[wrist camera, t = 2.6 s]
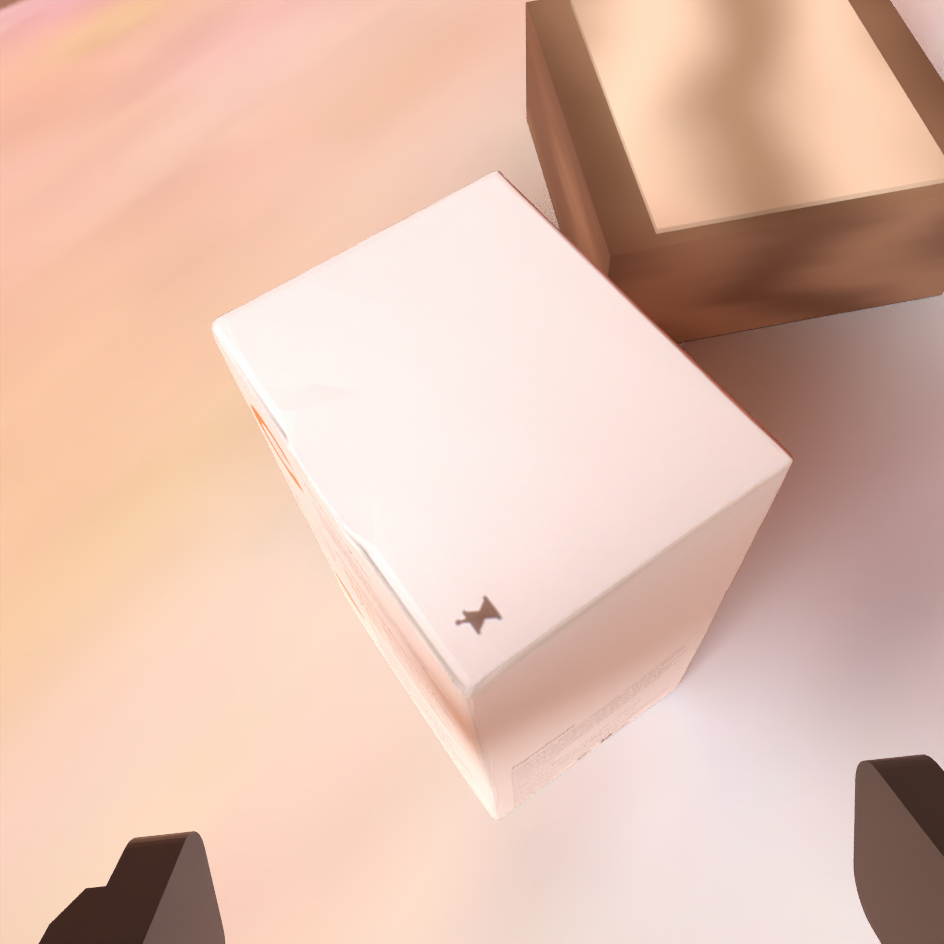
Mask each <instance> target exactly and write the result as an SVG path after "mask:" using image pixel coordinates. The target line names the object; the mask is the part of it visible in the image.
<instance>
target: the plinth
mask: <svg viewBox="0 0 944 944" xmlns="http://www.w3.org/2000/svg"><path fill="white" fill-rule="evenodd" d="M526 108H527V122H528V125H529V128H530V132H531V135H532V138H533V142H534V145H535V148H536V152H537V155H538V158H539V161H540V165H541V168H542V171H543V175H544V178H545V181H546V185H547V188H548V191H549V194H550V198H551V201H552V204H553V208H554V211H555V214H556V217H557V221H558V224H559V227H560V231H561V232H562V233H563V234H564V235H565V236H566V237H567V238H568V239H569V240H570V241H571V242H572V243H573V244H574V245H575V246H576V247H577V248H578V249H579V250H580V251H581V252H582V253H583V254H585V255H586V256H587V257H588V258H589V259H590V260H591V261H592V262H593V263H594V264H595V265H596V266H597V267H598V268H599V269H600V270H601V271H602V272H603V273H604V274H605V275H606V276H607V277H608V278H609V279H610V280H611V281H612V282H613V283H614V284H615V285H617V286H618V287H619V288H620V289H621V290H622V291H623V292H624V293H625V294H626V295H627V296H628V297H629V298H630V299H631V300H632V301H633V302H634V303H635V304H636V305H637V306H638V307H639V308H640V309H641V310H642V311H643V312H644V313H645V314H646V315H647V316H648V317H649V318H650V319H651V320H652V321H653V322H654V323H655V324H657V325H658V326H659V327H660V328H661V329H662V330H663V331H664V332H665V333H666V334H667V335H668V336H669V337H670V338H671V339H672V340H673V341H674V342H675V343H679V342H685V341H690V340H696V339H701V338H707V337H712V336H718V335H723V334H729V333H734V332H739V331H745V330H750V329H756V328H761V327H767V326H772V325H778V324H783V323H789V322H794V321H800V320H805V319H811V318H816V317H822V316H827V315H833V314H838V313H844V312H849V311H855V310H860V309H866V308H871V307H877V306H882V305H888V304H893V303H899V302H904V301H910V300H915V299H921V298H926V297H932V296H937V295H941V294H942V293H943V291H944V82H943V81H942V79H941V77H940V76H939V74H938V73H937V71H936V70H935V68H934V67H933V65H932V64H931V62H930V61H929V59H928V58H927V56H926V55H925V53H924V52H923V50H922V48H921V47H920V45H919V44H918V42H917V41H916V39H915V38H914V36H913V35H912V33H911V32H910V30H909V29H908V27H907V26H906V24H905V23H904V21H903V19H902V18H901V16H900V15H899V13H898V12H897V10H896V9H895V7H894V6H893V4H892V3H891V1H890V0H537V1H531V2H526Z"/></svg>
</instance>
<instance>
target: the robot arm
mask: <svg viewBox="0 0 944 944" xmlns="http://www.w3.org/2000/svg"><path fill="white" fill-rule="evenodd" d="M854 876H855V882H856V887H857V891H858V895H859V899H860V902H861V905H862V907H863V910H864V913H865V915H866V917H867V919H868V921H869V923H870V925H871V927H872V928H873V930H874V932H875V934H876V935H877V937H878V939H879V940H880V942H881V944H944V771H943V770H942V769H941V767H940V766H939V765H938V764H937V763H936V762H935V761H934V760H933V759H932V758H930V757H929V756H927V755H913V756H904V757H895V758H885V759H876V760H867V761H862V762H860V764H859V765H858V767H857V771H856V779H855V823H854ZM39 944H225V936H224V930H223V926H222V921H221V917H220V913H219V908H218V904H217V899H216V895H215V891H214V886H213V882H212V878H211V873H210V869H209V865H208V860H207V856H206V852H205V847H204V844H203V841H202V838H201V837H200V835H199V834H198V833H197V832H195V831H193V832H184V833H175V834H166V835H156V836H147V837H138V838H133V839H132V840H131V841H130V842H129V843H128V844H127V846H126V848H125V849H124V851H123V853H122V855H121V857H120V859H119V861H118V863H117V865H116V867H115V869H114V871H113V873H112V875H111V877H110V879H109V881H108V883H107V885H106V886H104V887H95V888H86V889H85V890H84V891H83V892H82V893H81V894H80V895H79V896H78V897H77V898H76V899H75V900H74V901H73V902H72V903H71V904H70V905H69V906H68V907H67V908H66V909H65V910H64V911H63V912H62V913H61V914H60V915H59V916H58V917H57V918H56V919H55V920H54V921H52V922H51V923H50V924H49V926H48V928H47V930H46V932H45V933H44V935H43V937H42V939H41V941H40V943H39Z"/></svg>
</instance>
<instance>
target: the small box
mask: <svg viewBox="0 0 944 944" xmlns="http://www.w3.org/2000/svg"><path fill="white" fill-rule="evenodd" d="M211 331H212V333H213V336H214V338H215V340H216V343H217V345H218V347H219V349H220V351H221V353H222V355H223V357H224V359H225V361H226V363H227V365H228V367H229V369H230V371H231V373H232V375H233V377H234V379H235V381H236V382H237V384H238V386H239V388H240V390H241V392H242V394H243V396H244V398H245V400H246V402H247V404H248V406H249V407H250V409H251V411H252V413H253V415H254V417H255V419H256V421H257V423H258V425H259V427H260V429H261V431H262V433H263V435H264V437H265V439H266V441H267V443H268V445H269V447H270V449H271V451H272V453H273V455H274V457H275V459H276V461H277V463H278V465H279V467H280V469H281V471H282V473H283V475H284V477H285V479H286V481H287V483H288V485H289V487H290V489H291V491H292V493H293V495H294V497H295V499H296V501H297V503H298V505H299V506H300V508H301V510H302V512H303V514H304V515H305V517H306V519H307V521H308V523H309V525H310V527H311V529H312V531H313V533H314V535H315V536H316V538H317V540H318V542H319V544H320V546H321V548H322V550H323V552H324V554H325V556H326V558H327V560H328V562H329V564H330V566H331V568H332V570H333V572H334V574H335V576H336V578H337V581H338V583H339V585H340V587H341V589H342V591H343V593H344V594H345V596H346V598H347V600H348V601H349V603H350V605H351V606H352V608H353V609H354V611H355V613H356V614H357V616H358V617H359V619H360V620H361V622H362V623H363V625H364V627H365V628H366V630H367V631H368V633H369V634H370V636H371V637H372V639H373V640H374V642H375V643H376V645H377V646H378V648H379V649H380V651H381V653H382V654H383V656H384V657H385V659H386V660H387V662H388V663H389V665H390V666H391V668H392V669H393V671H394V672H395V674H396V675H397V677H398V678H399V680H400V681H401V683H402V684H403V686H404V687H405V689H406V690H407V692H408V693H409V695H410V696H411V698H412V699H413V701H414V702H415V704H416V705H417V707H418V709H419V710H420V712H421V713H422V715H423V716H424V718H425V719H426V721H427V722H428V724H429V725H430V727H431V728H432V730H433V731H434V733H435V734H436V736H437V737H438V739H439V740H440V742H441V743H442V745H443V746H444V748H445V749H446V751H447V752H448V754H449V755H450V757H451V758H452V760H453V761H454V763H455V764H456V766H457V767H458V769H459V770H460V772H461V773H462V775H463V776H464V778H465V779H466V781H467V782H468V783H469V785H470V786H471V788H472V789H473V791H474V792H475V794H476V795H477V797H478V798H479V799H480V801H481V802H482V804H483V805H484V806H485V808H486V809H487V810H488V812H489V813H490V815H491V816H492V817H493V818H494V819H495V820H500V819H501V818H503V817H504V816H505V815H507V814H508V813H509V812H510V811H512V810H513V809H514V808H516V807H517V806H518V805H520V804H521V803H523V802H524V801H525V800H527V799H528V798H529V797H531V796H532V795H533V794H535V793H536V792H537V791H539V790H540V789H541V788H543V787H544V786H545V785H547V784H548V783H549V782H551V781H552V780H553V779H555V778H556V777H557V776H559V775H560V774H561V773H563V772H564V771H565V770H567V769H568V768H569V767H571V766H572V765H573V764H575V763H576V762H577V761H579V760H580V759H581V758H583V757H584V756H586V755H587V754H588V753H590V752H591V751H592V750H594V749H595V748H596V747H598V746H599V745H600V744H602V743H603V742H604V741H606V740H607V739H608V738H610V737H611V736H613V735H614V734H615V733H617V732H618V731H619V730H621V729H622V728H623V727H625V726H626V725H627V724H629V723H630V722H632V721H633V720H634V719H636V718H637V717H638V716H640V715H641V714H642V713H644V712H645V711H646V710H648V709H649V708H650V707H652V706H653V705H654V704H656V703H657V702H658V701H660V700H661V699H662V698H664V697H665V696H667V695H668V694H669V693H671V692H672V691H673V690H675V689H676V688H677V686H678V685H679V683H680V681H681V680H682V677H683V675H684V674H685V672H686V670H687V668H688V666H689V664H690V662H691V660H692V658H693V657H694V655H695V653H696V651H697V649H698V647H699V646H700V644H701V642H702V640H703V638H704V636H705V634H706V632H707V630H708V628H709V626H710V625H711V622H712V620H713V618H714V616H715V614H716V612H717V610H718V608H719V606H720V604H721V602H722V600H723V598H724V596H725V594H726V592H727V590H728V589H729V587H730V585H731V583H732V581H733V579H734V577H735V575H736V574H737V572H738V570H739V568H740V566H741V564H742V562H743V560H744V558H745V556H746V554H747V552H748V550H749V548H750V546H751V544H752V542H753V540H754V538H755V536H756V534H757V532H758V530H759V528H760V526H761V524H762V522H763V520H764V518H765V517H766V515H767V513H768V511H769V509H770V507H771V505H772V503H773V501H774V499H775V497H776V495H777V493H778V491H779V489H780V487H781V485H782V483H783V481H784V479H785V477H786V474H787V472H788V470H789V468H790V466H791V464H792V462H793V458H792V456H791V454H790V453H789V452H788V451H787V450H786V449H785V448H784V447H783V446H782V445H781V444H780V443H779V442H778V441H777V440H776V439H775V438H773V437H772V436H771V435H770V434H769V433H768V432H767V431H766V430H765V429H764V428H763V427H762V426H761V425H760V424H759V423H758V422H757V421H756V420H755V419H754V418H753V417H752V416H751V415H750V414H749V413H748V412H746V411H745V410H744V409H743V408H742V407H741V406H740V405H739V404H738V403H737V402H736V401H735V400H734V399H733V398H732V397H731V396H730V395H729V394H728V393H727V392H726V391H725V390H724V389H723V388H722V387H721V386H720V385H719V384H718V383H717V382H716V381H714V380H713V379H712V378H711V377H710V376H709V375H708V374H707V373H706V372H705V371H704V370H703V369H702V368H701V367H700V366H699V365H698V364H697V363H696V362H695V361H694V360H693V359H692V358H691V357H690V356H689V355H688V354H687V353H686V352H685V351H684V350H683V349H682V348H681V347H680V346H679V345H677V344H676V343H675V342H674V341H673V340H672V339H671V338H670V337H669V336H668V335H667V334H666V333H665V332H664V331H663V330H662V329H661V328H660V327H659V326H658V325H657V324H655V323H654V322H653V321H652V320H651V319H650V318H649V317H648V316H647V315H646V314H645V313H644V312H643V311H642V310H641V309H640V308H639V307H638V306H637V305H636V304H635V303H634V302H633V301H632V300H631V299H630V298H629V297H628V296H627V295H626V294H625V293H624V292H623V291H622V290H621V289H620V288H619V287H618V286H617V285H615V284H614V283H613V282H612V281H611V280H610V279H609V278H608V277H607V276H606V275H605V274H604V273H603V272H602V271H601V270H600V269H599V268H598V267H597V266H596V265H595V264H594V263H593V262H592V261H591V260H590V259H589V258H588V257H587V256H586V255H585V254H583V253H582V252H581V251H580V250H579V249H578V248H577V247H576V246H575V245H574V244H573V243H572V242H571V241H570V240H569V239H568V238H567V237H566V236H565V235H564V234H563V233H562V232H561V231H560V230H559V229H557V228H556V227H555V226H554V225H553V224H552V223H551V222H550V221H549V220H548V219H547V218H546V217H545V216H544V215H543V214H542V213H541V212H540V211H539V210H538V209H537V208H536V207H535V206H534V205H533V204H532V203H531V202H530V201H529V200H528V199H527V198H526V197H525V196H524V195H523V194H522V193H521V192H520V191H519V190H518V189H517V188H516V187H515V186H513V185H512V184H511V183H510V182H509V181H508V180H507V179H506V178H505V177H504V176H503V174H502V173H501V172H500V171H493V172H491V173H489V174H486V175H485V176H483V177H481V178H479V179H477V180H476V181H474V182H472V183H470V184H468V185H466V186H464V187H462V188H461V189H459V190H457V191H455V192H453V193H451V194H449V195H447V196H445V197H444V198H442V199H440V200H438V201H436V202H435V203H433V204H431V205H429V206H428V207H426V208H424V209H422V210H420V211H418V212H416V213H414V214H412V215H410V216H409V217H407V218H405V219H403V220H401V221H399V222H398V223H396V224H394V225H392V226H390V227H388V228H386V229H384V230H382V231H381V232H379V233H377V234H375V235H373V236H371V237H369V238H367V239H366V240H364V241H362V242H360V243H358V244H356V245H355V246H353V247H351V248H349V249H347V250H345V251H343V252H342V253H340V254H338V255H336V256H334V257H332V258H330V259H329V260H327V261H325V262H323V263H321V264H319V265H317V266H316V267H314V268H312V269H310V270H308V271H306V272H304V273H302V274H300V275H299V276H297V277H295V278H293V279H291V280H289V281H287V282H285V283H283V284H282V285H280V286H278V287H276V288H274V289H272V290H270V291H268V292H266V293H265V294H263V295H261V296H259V297H257V298H255V299H253V300H251V301H250V302H248V303H246V304H244V305H242V306H240V307H238V308H236V309H234V310H232V311H230V312H228V313H226V314H224V315H221V316H219V317H217V318H216V319H215V320H213V321H212V329H211Z"/></svg>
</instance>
